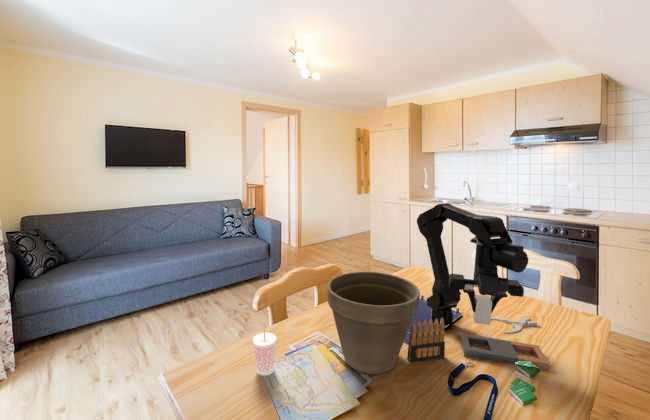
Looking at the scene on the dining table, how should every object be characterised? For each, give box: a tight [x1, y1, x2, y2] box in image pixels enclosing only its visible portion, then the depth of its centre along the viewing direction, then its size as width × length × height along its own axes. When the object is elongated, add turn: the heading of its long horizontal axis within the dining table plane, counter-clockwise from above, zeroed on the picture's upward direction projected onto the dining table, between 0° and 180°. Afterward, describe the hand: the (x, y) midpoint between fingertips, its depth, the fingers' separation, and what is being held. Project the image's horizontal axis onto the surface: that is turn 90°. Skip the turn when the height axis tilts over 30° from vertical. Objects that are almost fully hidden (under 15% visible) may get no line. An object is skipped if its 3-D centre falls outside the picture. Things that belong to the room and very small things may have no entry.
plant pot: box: [326, 271, 421, 375], centre depth 87 cm, size 25×25×22 cm
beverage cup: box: [252, 320, 277, 376], centre depth 82 cm, size 6×6×14 cm
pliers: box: [490, 317, 538, 334], centre depth 107 cm, size 10×2×15 cm
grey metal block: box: [472, 294, 492, 326], centre depth 91 cm, size 4×4×7 cm
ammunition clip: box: [406, 318, 446, 364], centre depth 88 cm, size 11×2×12 cm, turn 102°
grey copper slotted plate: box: [460, 333, 550, 371], centre depth 91 cm, size 21×9×2 cm, turn 73°
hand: (481, 312), depth 91 cm, fingers closed on grey metal block, 4 cm apart
